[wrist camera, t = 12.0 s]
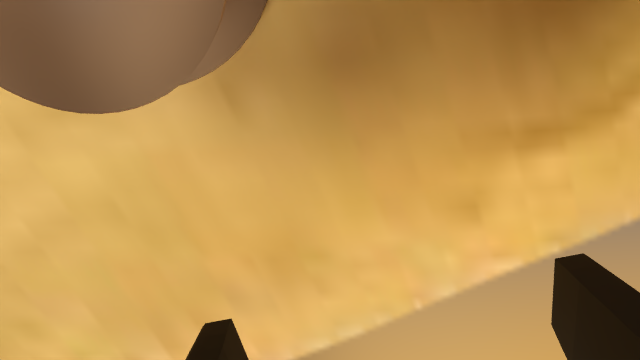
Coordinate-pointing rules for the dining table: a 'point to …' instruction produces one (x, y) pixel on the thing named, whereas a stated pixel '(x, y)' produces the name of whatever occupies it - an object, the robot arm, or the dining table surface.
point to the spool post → (116, 48)
